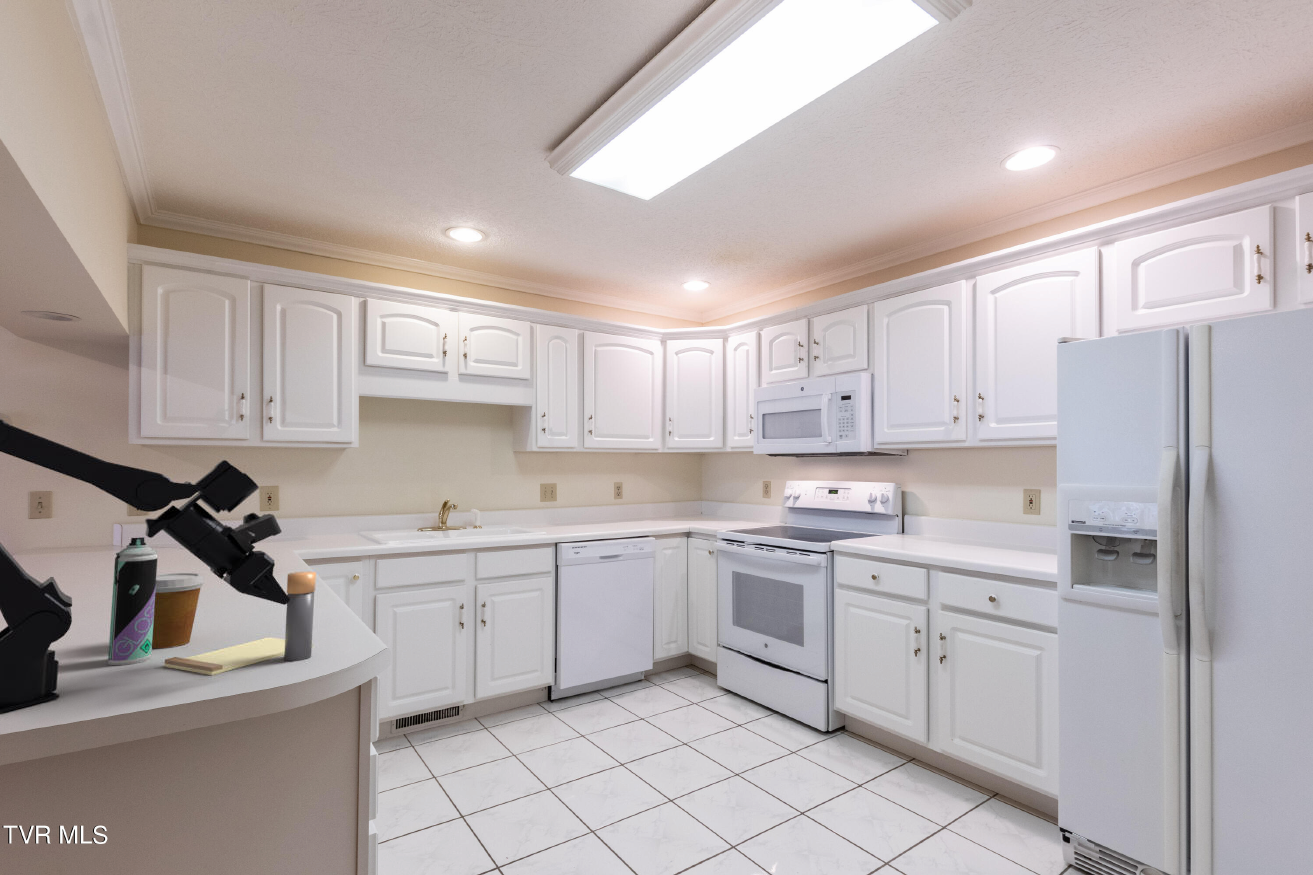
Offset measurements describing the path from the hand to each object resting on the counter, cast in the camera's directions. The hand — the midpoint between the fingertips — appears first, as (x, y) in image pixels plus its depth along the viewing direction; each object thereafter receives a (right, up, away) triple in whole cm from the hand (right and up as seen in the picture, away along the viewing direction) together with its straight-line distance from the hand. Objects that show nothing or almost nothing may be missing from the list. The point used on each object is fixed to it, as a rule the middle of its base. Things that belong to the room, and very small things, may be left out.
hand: (280, 597), depth 106 cm
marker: (+2, -10, +1) cm, 11 cm away
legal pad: (-7, -10, +2) cm, 13 cm away
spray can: (-24, -10, -2) cm, 26 cm away
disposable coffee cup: (-25, -11, +8) cm, 29 cm away
